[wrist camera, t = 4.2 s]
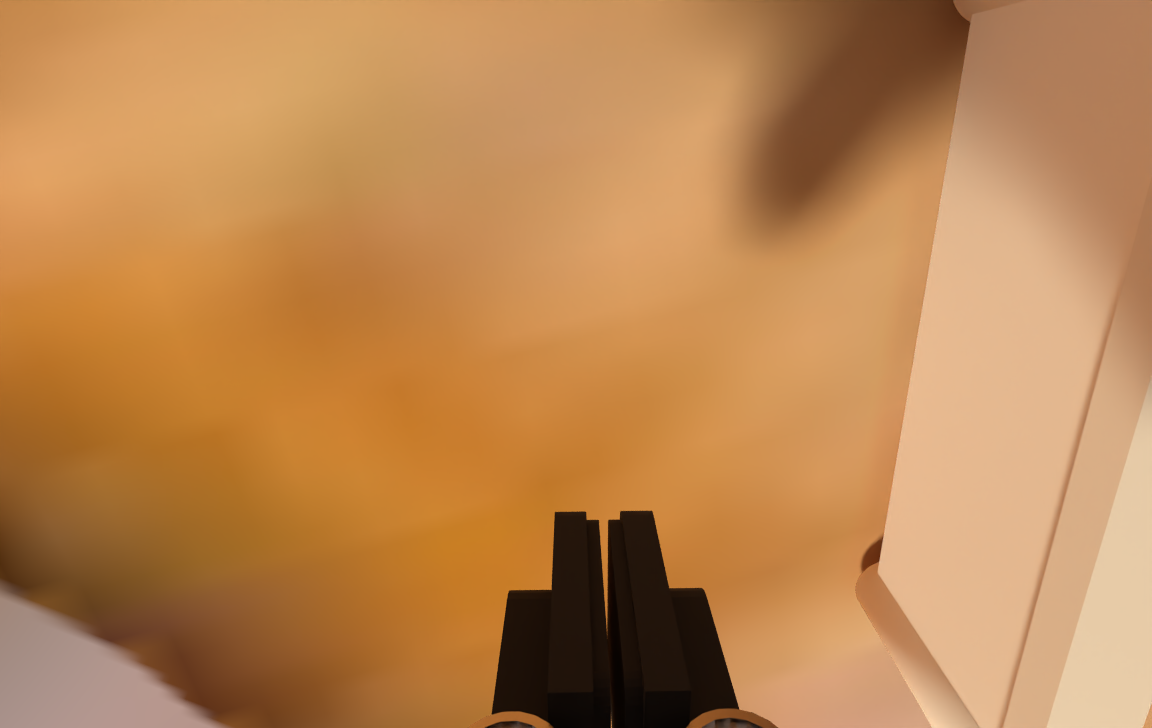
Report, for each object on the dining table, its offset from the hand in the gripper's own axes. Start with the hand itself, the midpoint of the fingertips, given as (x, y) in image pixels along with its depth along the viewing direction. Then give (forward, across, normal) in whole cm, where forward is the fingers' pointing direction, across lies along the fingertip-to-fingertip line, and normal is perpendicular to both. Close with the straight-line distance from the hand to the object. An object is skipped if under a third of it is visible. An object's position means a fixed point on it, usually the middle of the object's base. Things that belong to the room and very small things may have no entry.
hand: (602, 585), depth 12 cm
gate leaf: (+8, -9, -2) cm, 12 cm away
